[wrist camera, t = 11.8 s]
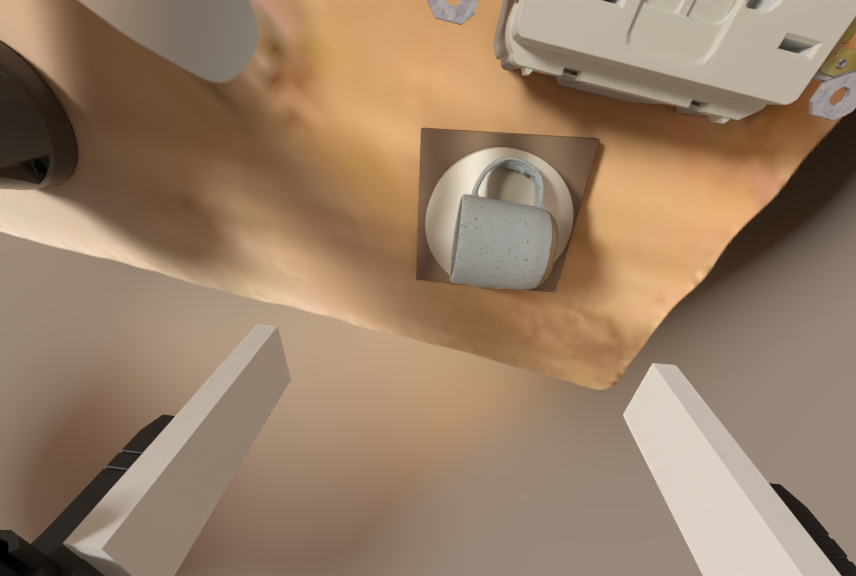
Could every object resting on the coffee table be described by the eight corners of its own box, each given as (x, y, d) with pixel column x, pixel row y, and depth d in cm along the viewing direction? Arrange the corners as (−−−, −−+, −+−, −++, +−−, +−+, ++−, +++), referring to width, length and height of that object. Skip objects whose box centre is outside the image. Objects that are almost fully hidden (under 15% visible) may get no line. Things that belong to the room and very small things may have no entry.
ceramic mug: (528, 269, 33) (544, 311, 26) (449, 259, 33) (445, 298, 27) (559, 160, 28) (588, 178, 21) (464, 149, 28) (464, 163, 21)
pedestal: (417, 274, 39) (413, 290, 36) (422, 127, 31) (417, 131, 28) (552, 287, 38) (559, 303, 35) (595, 138, 30) (609, 143, 26)
